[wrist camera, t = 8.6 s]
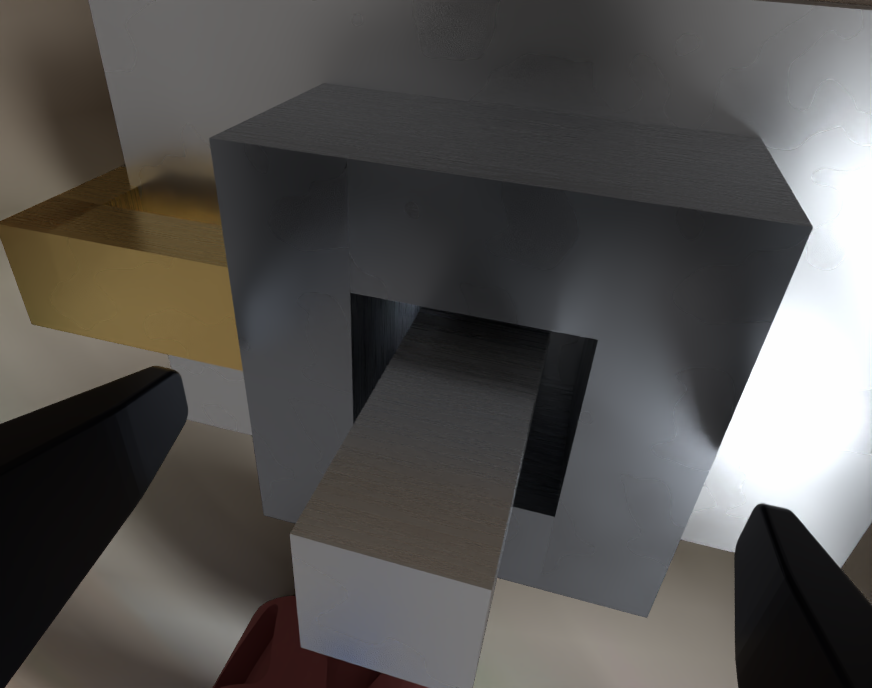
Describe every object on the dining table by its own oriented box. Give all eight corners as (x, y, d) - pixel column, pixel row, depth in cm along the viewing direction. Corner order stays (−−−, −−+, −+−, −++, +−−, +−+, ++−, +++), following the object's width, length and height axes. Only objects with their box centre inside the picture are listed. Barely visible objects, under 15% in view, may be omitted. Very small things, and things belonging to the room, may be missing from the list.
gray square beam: (566, 256, 13) (491, 590, 6) (548, 345, 14) (470, 700, 8) (462, 237, 13) (289, 533, 7) (453, 326, 14) (301, 647, 8)
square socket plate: (1150, 28, 9) (1533, 102, 5) (825, 544, 16) (886, 748, 12) (68, -63, 13) (-189, -60, 9) (173, 391, 20) (52, 510, 16)
